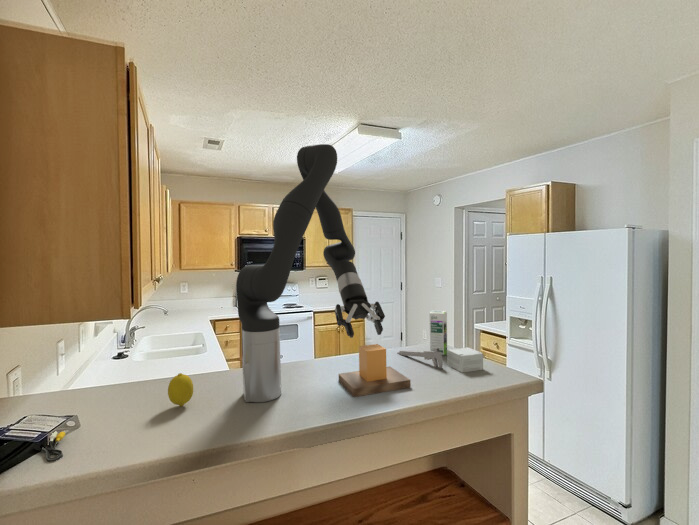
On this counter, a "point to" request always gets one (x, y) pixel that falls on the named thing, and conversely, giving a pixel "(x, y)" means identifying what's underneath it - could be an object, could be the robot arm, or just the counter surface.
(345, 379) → the board
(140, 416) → the counter surface
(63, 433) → the composite cable
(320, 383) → the counter surface
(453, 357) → the small box
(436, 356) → the caliper
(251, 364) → the robot arm
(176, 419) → the counter surface
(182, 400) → the lemon
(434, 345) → the syrup box
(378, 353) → the orange rectangular block
